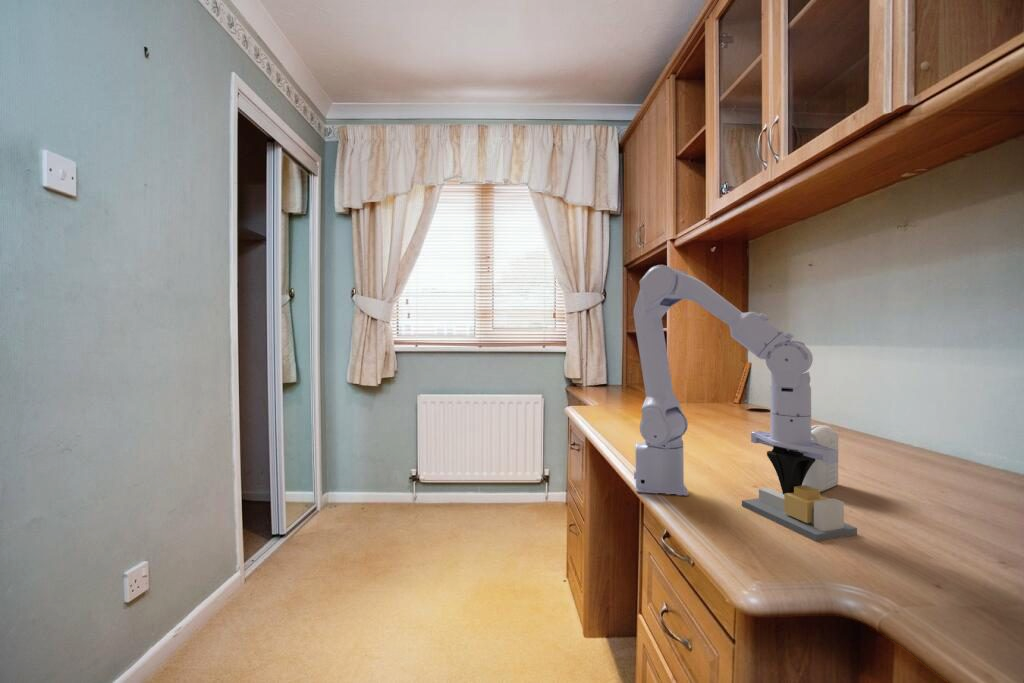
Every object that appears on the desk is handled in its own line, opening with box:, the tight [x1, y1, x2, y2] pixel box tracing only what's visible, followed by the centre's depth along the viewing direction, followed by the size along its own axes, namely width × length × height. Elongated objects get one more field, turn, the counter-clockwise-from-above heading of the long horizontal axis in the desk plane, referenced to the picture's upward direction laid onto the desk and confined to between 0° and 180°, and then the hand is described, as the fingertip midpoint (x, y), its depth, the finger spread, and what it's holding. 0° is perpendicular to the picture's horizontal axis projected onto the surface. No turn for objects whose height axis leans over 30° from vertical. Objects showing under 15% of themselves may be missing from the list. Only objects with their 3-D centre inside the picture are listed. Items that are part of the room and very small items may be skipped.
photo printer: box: [802, 424, 839, 493], centre depth 86 cm, size 10×4×12 cm, turn 123°
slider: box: [784, 485, 828, 523], centre depth 69 cm, size 4×5×4 cm
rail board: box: [741, 487, 858, 542], centre depth 71 cm, size 14×8×5 cm, turn 15°
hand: (790, 495), depth 72 cm, fingers closed
